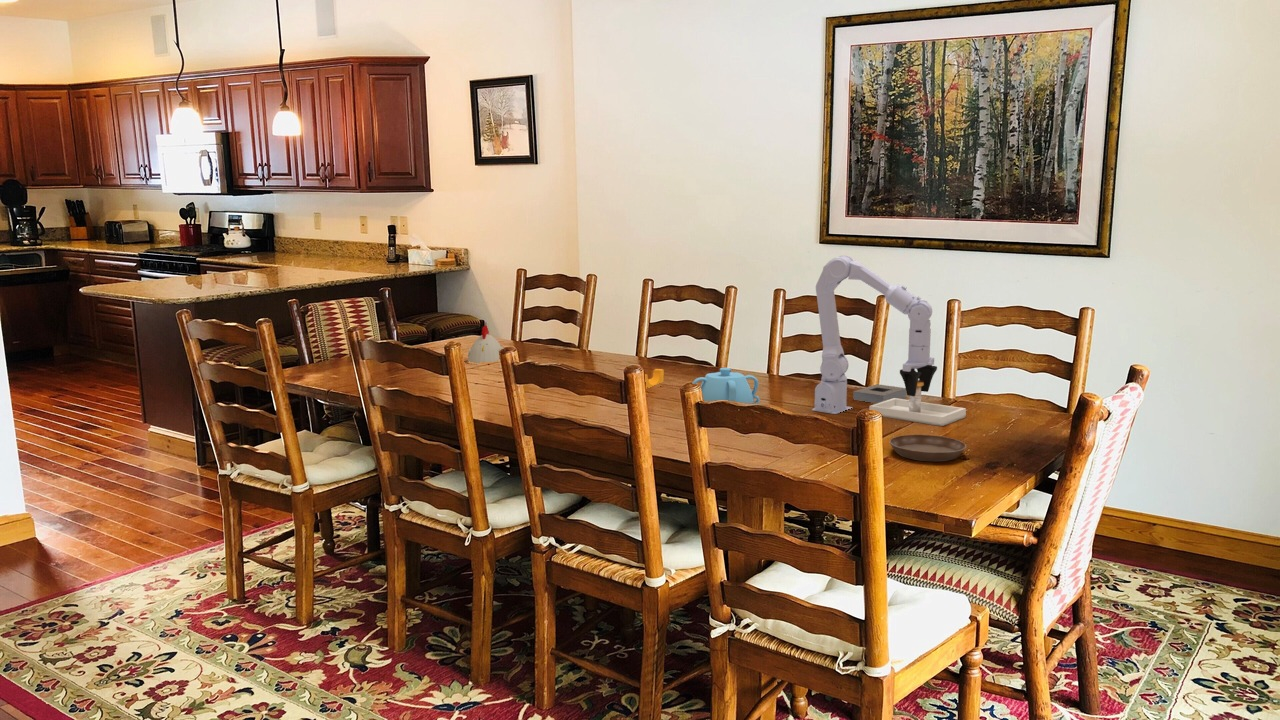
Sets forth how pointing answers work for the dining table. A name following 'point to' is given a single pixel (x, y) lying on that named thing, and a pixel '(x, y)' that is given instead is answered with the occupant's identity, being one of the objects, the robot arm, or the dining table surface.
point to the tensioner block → (879, 393)
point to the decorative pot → (728, 386)
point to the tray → (928, 414)
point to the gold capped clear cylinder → (916, 399)
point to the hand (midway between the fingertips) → (917, 393)
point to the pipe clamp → (655, 378)
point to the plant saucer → (927, 447)
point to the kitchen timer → (484, 348)
